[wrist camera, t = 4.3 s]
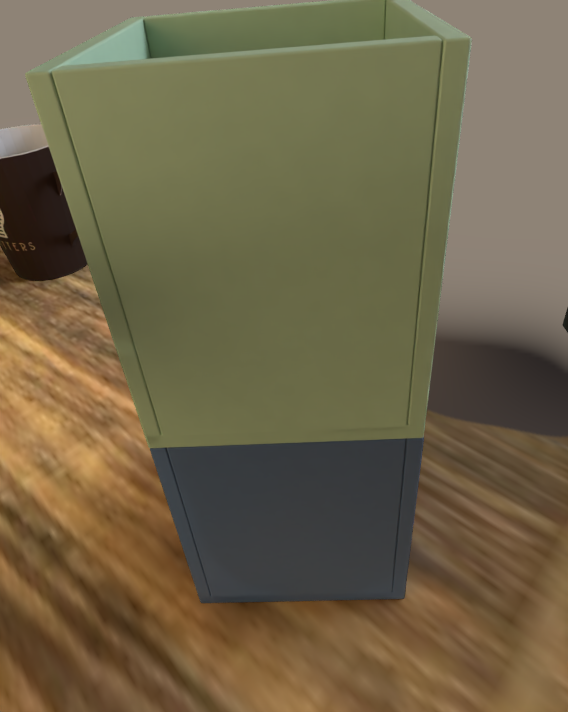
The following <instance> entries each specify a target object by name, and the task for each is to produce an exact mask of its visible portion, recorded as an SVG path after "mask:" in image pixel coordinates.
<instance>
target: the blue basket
mask: <svg viewBox="0 0 568 712" xmlns="http://www.w3.org/2000/svg"><path fill="white" fill-rule="evenodd" d="M423 442H424V437H423V438H404V439H380V440H354V441H328V442H302V443H275V444H249V445H223V446H196V447H170V448H167V447H165V448H150V451H151V454H152V457H153V460H154V463H155V466H156V469H157V472H158V475H159V478H160V481H161V484H162V487H163V490H164V493H165V496H166V499H167V502H168V505H169V508H170V511H171V514H172V517H173V520H174V523H175V526H176V529H177V532H178V535H179V538H180V541H181V544H182V548H183V551H184V554H185V557H186V560H187V563H188V566H189V569H190V572H191V575H192V578H193V581H194V584H195V587H196V590H197V593H198V596H199V599H200V602H201V603H226V602H274V601H322V600H370V599H404V597H405V589H406V581H407V573H408V564H409V556H410V548H411V540H412V532H413V524H414V516H415V508H416V499H417V491H418V483H419V475H420V467H421V459H422V451H423Z"/></svg>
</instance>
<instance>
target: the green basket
mask: <svg viewBox="0 0 568 712" xmlns="http://www.w3.org/2000/svg"><path fill="white" fill-rule="evenodd" d="M471 42H472V39H471V37H469V36H468V35H466V34H464V33H463V32H461V31H459V30H458V29H456V28H455V27H453V26H451V25H450V24H448V23H446V22H445V21H443V20H441V19H440V18H438V17H436V16H435V15H433V14H431V13H430V12H428V11H426V10H425V9H423V8H422V7H420V6H418V5H417V4H415V3H413V2H412V1H410V0H332V1H321V2H308V3H296V4H285V5H273V6H261V7H250V8H238V9H226V10H215V11H203V12H191V13H181V14H169V15H156V16H147V17H146V18H145V17H135V18H134V17H133V18H130V19H128V20H126V21H124V22H122V23H120V24H118V25H117V26H114V27H112V28H111V29H109V30H107V31H105V32H103V33H101V34H99V35H97V36H96V37H93V38H91V39H90V40H88V41H86V42H84V43H82V44H80V45H78V46H76V47H74V48H72V49H70V50H69V51H67V52H65V53H63V54H61V55H59V56H57V57H55V58H53V59H51V60H49V61H48V62H46V63H44V64H42V65H40V66H38V67H36V68H34V69H32V70H30V71H29V72H27V73H26V74H25V77H26V79H27V82H28V86H29V89H30V92H31V95H32V98H33V100H34V103H35V106H36V109H37V113H38V115H39V119H40V122H41V125H42V128H43V131H44V134H45V137H46V140H47V143H48V146H49V149H50V152H51V155H52V158H53V161H54V164H55V167H56V170H57V173H58V176H59V179H60V182H61V185H62V188H63V191H64V194H65V197H66V200H67V203H68V206H69V209H70V212H71V215H72V218H73V221H74V224H75V227H76V230H77V233H78V236H79V239H80V242H81V245H82V248H83V251H84V254H85V257H86V260H87V263H88V266H89V269H90V272H91V275H92V278H93V281H94V284H95V287H96V290H97V293H98V296H99V299H100V302H101V305H102V308H103V311H104V314H105V317H106V320H107V323H108V326H109V329H110V332H111V335H112V338H113V341H114V344H115V347H116V350H117V353H118V356H119V359H120V362H121V365H122V368H123V371H124V374H125V377H126V380H127V383H128V386H129V389H130V392H131V395H132V398H133V401H134V404H135V407H136V410H137V413H138V416H139V419H140V423H141V426H142V429H143V432H144V435H145V438H146V441H147V444H148V447H149V448H165V447H167V448H170V447H196V446H223V445H249V444H275V443H302V442H328V441H354V440H380V439H404V438H423V436H424V428H425V420H426V412H427V404H428V395H429V387H430V379H431V370H432V363H433V354H434V346H435V338H436V330H437V321H438V312H439V305H440V297H441V288H442V280H443V272H444V264H445V256H446V247H447V239H448V231H449V223H450V215H451V207H452V198H453V190H454V181H455V174H456V166H457V157H458V149H459V141H460V133H461V125H462V116H463V108H464V100H465V92H466V83H467V75H468V67H469V59H470V51H471Z"/></svg>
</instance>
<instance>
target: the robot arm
mask: <svg viewBox="0 0 568 712" xmlns="http://www.w3.org/2000/svg"><path fill="white" fill-rule="evenodd" d="M563 326H564V328H565V329H566V331H567V332H568V308H567V312H566V315H565V319H564V322H563Z"/></svg>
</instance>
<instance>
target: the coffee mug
mask: <svg viewBox="0 0 568 712" xmlns="http://www.w3.org/2000/svg"><path fill="white" fill-rule="evenodd" d="M0 246H1V248H2V250H3V251H4V253H5V255H6V257H7V258H8V260H9V262H10V263H11V265H12V267H13V269H14V270H15V272H16V274H17V275H18V276H19V277H21V278H23V279H27V280H35V281H38V280H50V279H55V278H59V277H63V276H66V275H69V274H71V273H74V272H76V271H77V270H79V269H81V268H83V267H84V266H85V265H87V264H88V263H87V260H86V257H85V254H84V251H83V248H82V245H81V242H80V239H79V236H78V233H77V230H76V227H75V224H74V221H73V218H72V215H71V212H70V209H69V206H68V203H67V200H66V197H65V194H64V191H63V188H62V185H61V182H60V179H59V176H58V173H57V170H56V167H55V164H54V161H53V158H52V155H51V152H50V149H49V146H48V143H47V140H46V137H45V134H44V131H43V128H42V125H41V124H35V125H23V126H16V127H9V128H4V129H0Z"/></svg>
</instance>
